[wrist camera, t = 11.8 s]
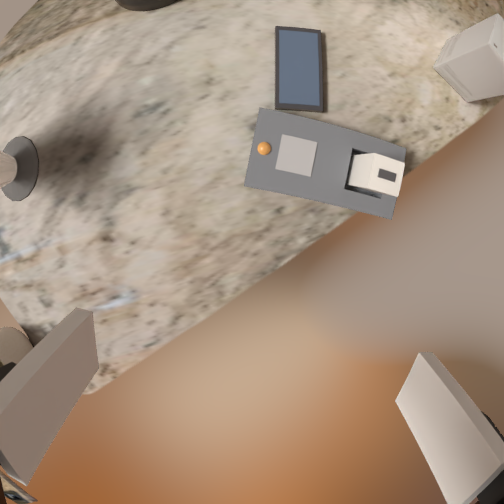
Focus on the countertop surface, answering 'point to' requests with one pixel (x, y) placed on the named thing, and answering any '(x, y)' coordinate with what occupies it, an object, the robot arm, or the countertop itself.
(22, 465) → the robot arm
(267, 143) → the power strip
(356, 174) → the block
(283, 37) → the phone
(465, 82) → the supplement box
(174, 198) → the countertop surface
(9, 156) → the cup
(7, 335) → the planter
